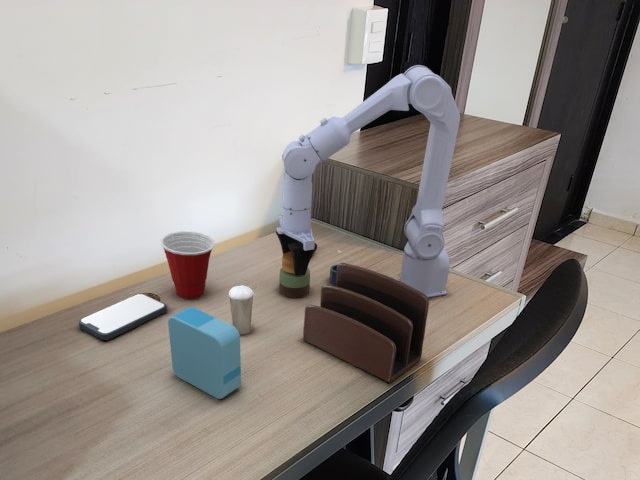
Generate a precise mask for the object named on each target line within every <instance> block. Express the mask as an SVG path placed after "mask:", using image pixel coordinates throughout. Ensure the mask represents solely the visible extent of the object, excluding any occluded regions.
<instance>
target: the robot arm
mask: <svg viewBox="0 0 640 480" xmlns="http://www.w3.org/2000/svg"><path fill="white" fill-rule="evenodd" d="M452 92H453V91H452V87H451V86H450V85H449V84H448V83H447V82H446V81H445V80H444V79H443V78H442V77H441V76H440V75H438V74H436V73H434V72H433V71H432V70H431V69H430V68H428V67H427V66H425V65H423V64H422V65H421V64H416V65H413V66H411V67H409V68H408V69H407V70H405V72H404V73H399V74H398V75H396V76H394V77H392V78H391V79H390V80H389V81H388V82H386V84H384V85H382V87H381V88H379V89H378V90H377V91H375V92H374V93H373V94H371V95H370V96H368V97H367V98H366V99H365V100H363V101H362V102H361V103H360V104H359V105H357V106H356V107H354V108H353V109H352V110H350V111H349V112H348V113H347V114H345V115H344V116H342V117H339V116H338V117H337V116H331V117H329V118H328V119H327V117H323V118H322V119H320V120H319V123H320V125H318V126H316V127H315V128H313V129H312V130H311V131H309V132H308V133H307V134H305V135H304V134H300V135H299V136H298V140H297V141H296V140H294V141H291V142H289V143H288V144H287V145H286V146H285V148H284V150H283V153H282V154H281V158H282V162H283V167H284V172H283V182H282V213H281V214H279V218H278V221H279V225H280V226H278V227H276V230H275V234H276V236H277V238H278V240H279V243H280V247H281V251H282V255H283V254H284V253H286V252H290V251H291V254H292V257H293V265H294V273H295V275H296V276H301V275H305V274H306V271H307V268H309V264H310V262H311V259H312V257H313V256H314V254H315V252H316V251H317V250H318V244H317V243H316V242H315V241H316V240H315V239H314V236H313V228H312V226H311V224H312V204H313V181H312V179H313V174H314V172H315V171H316V168H317V165H318V164H321V163H323V162H324V161H326V160H327V159H329V158H330V157H332V156H334V154H336V153H337V152H339V151H340V150H342V149H343V148H345V147H346V146H348V145H350V140H351V137H352V134H354V133H355V132H357V131H358V130H360V129H362V128H363V127H365V126H367V125H368V124H370V123H371V122H373V121H375V120H376V119H379V117H381V116H383V115H384V114H386V113H388V112H389V111H401V112H402V111H403V112H408V111H410V107H409V104H410V105H412V107H413V108H414V109H415V110H416V111H418V112H419V113H421V114H423V116H425V118H426V119H427V120H428V121H429V123H430V124H429V131H428V136H427V140H426V141H427V142H426V147H425V152H424V153H425V154H424V158H423V164H422V170H421V176H420V181H419V187H418V194H417V199H416V203H415V205H414V206H413V207H412V209H411V213H410V215H409V218H408V219H407V220H406V221H405V222H406V223H405V224H404V229H403V230H404V231H403V232H404V236H405V237H406V238H407V242H406V244H405V246H404V249H403V255H402V262H401V269H400V276H399V281H400V282H402V283H405V284H406V285H408V286H410V287H412V288H414V289H416V290H418V291H420V292H422V293H423V294H425V295H426V296H427V297H428V298H434V297H439V296H445V295H448V291H447V290H446V289H447V283H448V278H449V272H450V267H451V266H450V264H451V263H450V256H449V253H448V252H447V251H446V250H445V243H446V241H445V237H444V226H445V225H444V217H443V206H444V202H445V196H446V192H447V187H448V182H449V177H450V171H451V167H452V162H453V157H454V152H455V146H456V142H457V138H458V132H459V126H460V122H461V114H460V111H459V109H458V108H459V107H458V106H457V103H456V100H455V98H454V96H453V93H452Z"/></svg>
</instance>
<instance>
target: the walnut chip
mask: <svg viewBox="0 0 640 480" xmlns="http://www.w3.org/2000/svg"><path fill="white" fill-rule="evenodd" d="M278 283H279V288H278V291H279V294H280V295H281V296H283V297H285V298H288V299H289V298H290V299H300V298H304V297H306V296H308V295H309V293H310V286H311V285H310V283H311V281H310V282H309V284H308V285H307V286H304V287H301V288H290V287H286V286H284V285H282V284H281V283H280V282H278Z"/></svg>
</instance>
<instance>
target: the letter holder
mask: <svg viewBox="0 0 640 480" xmlns="http://www.w3.org/2000/svg"><path fill="white" fill-rule="evenodd" d="M337 264H338V266H337V276H336V286H335V285H333V284H326V283H325V284H324V285H323V286H321V288H320V301H319V302H320V305H314V304H307V305H306V306H305V307H304V319H303V331H302V333H303V334H302V340H303V341H304V342H307V343H308V344H311V345H313V346H314V347H316V348H318V349H320V350H323V351H325V352H326V353H328V354H331V355H332V356H335V357H337V358H338V359H340V360H342V361H345V362H346V363H348V364H351V365H353V366H355V367H357V368H358V369H361V370H363V371H365V372H367V373H369V374H371V375H373V376H375V377H377V378H378V379H381V380H383V381H385V382H387V383H389V384H391V383H392V382H393V381H394V380H396V379H398V378H399V377H401V376H402V375H403V374H404V373H406V372H407V371H409V370H410V369H411V368H413V367H414V366H415V365H417V364H418V363H419V362H420V361H421V359H422V355H423V347H424V340H425V334H426V333H425V332H426V327H427V320H428V314H429V308H430V307H429V306H430V301H429V297H427V296H426V295H425V294H423V293H422V292H420V291H418V290H416V289H414V288H412V287H410V286H408V285H406V284H405V283H402V282H400V280H398V279H395V278H393V277H390V276H388V275H385V274H383V273H380V272H377V271H374V270H371V269H368V268H365V267H362V266H358V265H354V264H350V263H346V262H339V263H337Z"/></svg>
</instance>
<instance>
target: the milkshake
mask: <svg viewBox="0 0 640 480" xmlns="http://www.w3.org/2000/svg"><path fill="white" fill-rule="evenodd" d="M258 285H259V284H258V283H257V284H256V286H255V288H254V290H253V289H252V288H251V287H249V286H246V285H244V284H243V285H235V286H233V287H232V288H230V290H229V291H228V297H229V298H228V299H229V304H230V312H231V322H232V326H234V327H235V328H236V329H237V330H238V332H239V335H240V336H241V335H248V334H249V333H250V332H251V330H252V316H253V303H254V294H255V292H256V289H257V288H258Z"/></svg>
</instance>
